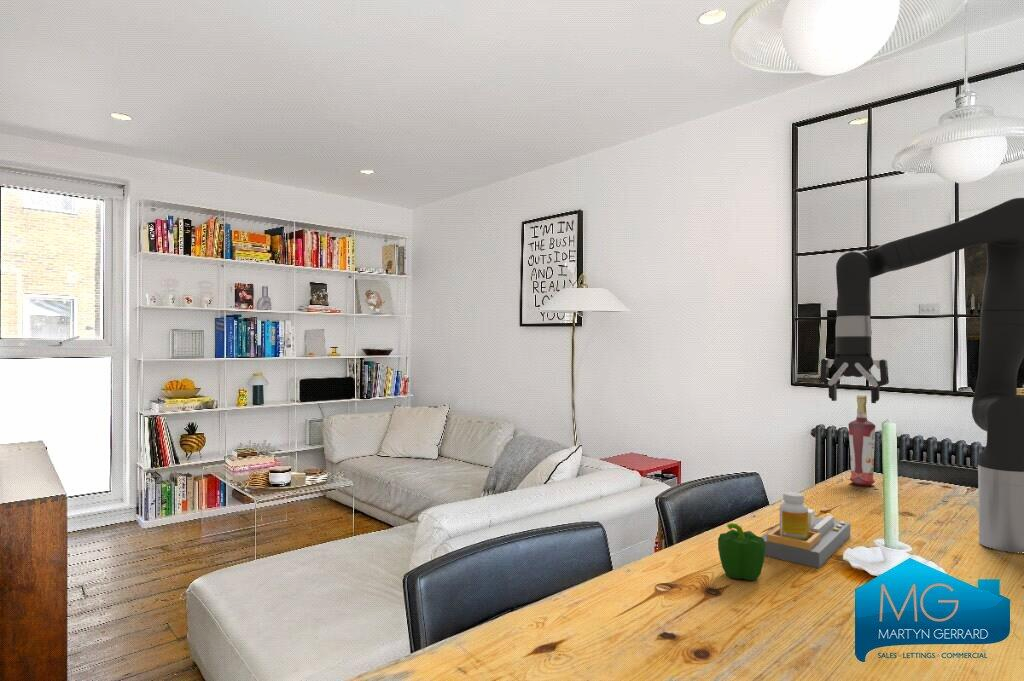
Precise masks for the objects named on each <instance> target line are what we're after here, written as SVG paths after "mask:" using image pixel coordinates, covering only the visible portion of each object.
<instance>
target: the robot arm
mask: <svg viewBox="0 0 1024 681" xmlns="http://www.w3.org/2000/svg"><path fill="white" fill-rule="evenodd" d="M982 244H986V258H987V264H986V265H987V266H986V274H985V279H984V284H983V292H982V300H981V307H980V308H981V309H980V327H979V346H978V347H979V350H978V370H977V371H978V372H977V378H976V382H975V388H974V394H973V399H972V404H971V416H972V420H973V421H974V423H975V424H976V426H977V427H979V428H980V429H981V430H982V431H984V432H986V443H985V444H986V445H985V447H984V449H983V450H981V451H979V453H978V456H977V461H978V462H977V463H978V465H977V472H978V474H977V475H978V477H977V478H978V480H977V481H978V483H977V484H978V488H977V489H978V543H979V544H980V545H981V546H984V547H986V548H988V547H989V548H988V549H991V548H993V550H995V549H997V550H996V551H999V550H1002V551H1001V552H1004V551H1008V552H1007V553H1011V552H1017V553H1016V554H1022V552H1024V396H1021V395H1018V392H1017V391H1018V389H1017V386H1018V373H1019V370H1020V366H1021V363H1022V361H1023V360H1024V197H1015V198H1014V197H1013V198H1011V199H1007V200H1004V201H1003V202H1001V203H999V204H997V205H995V206H993V207H991V208H988V209H986V210H983V211H981V212H979V213H976V214H974V215H972V216H970V217H966V218H964V219H962V220H958V221H956V222H952V223H950V224H947V225H943V226H940V227H936V228H932V229H929V230H925V231H921V232H919V233H918V232H917V233H914V234H911V235H907V236H903V237H901V238H897V239H893V240H891V241H888V242H885V243H882V244H881V245H879V246H878V247H875V248H871V249H868V250H865V251H862V252H860V251H848V252H845V253H844V254H842V255H841V256H840V257H839V258H838V260H837V262H836V265H835V266H836V267H835V274H836V276H835V277H836V290H837V298H836V320H835V321H836V322H835V358H834V359H830V358H821V360H820V361H821V362H820V375H819V381H820V383H823V384H826V385H828V399H831V402H832V401H833V402H836V401H837V399H838V395H837V394H838V393H837V392H838V391H837V386H838V385H836V384H837V383H838V382H839V381H840V379H842V378H843V377H854V378H862V377H864V378H865V379H866V381H868V382H869V384H870V385H871V388H870V395H871V396H870V397H871V398H870V402H871V404H877V402H879V401H880V388H881V387H882V386H886V385H888V384H889V383H890V380H889V368H888V360H887V359H884V358H883V359H877V360H876V359H875V360H874V359H873V357H872V334H873V331H872V321H871V302H870V295H869V291H870V290H869V289H870V288H869V287H870V279H872V278H874V277H878V276H881V275H883V274H886V273H890V272H894V271H899V270H903V269H906V268H910V267H915V266H918V265H921V264H924V263H927V262H930V261H933V260H936V259H939V258H942V257H944V256H946V255H950V254H952V253H955V252H958V251H961V250H965V249H968V248H971V247H974V246H978V245H982ZM832 365H834V366H835V367H836V368H837V371H836V372H835V373H834V374H833V375H832V377H831V378H829V368H831V367H832ZM874 365H875V367H876V369H879V374H880V380H877V378H876V377H875V376H874V374H873V373H872V372H871V371H870V370H871V368H872V367H873V366H874ZM1018 552H1019V553H1018Z"/></svg>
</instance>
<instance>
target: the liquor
mask: <svg viewBox="0 0 1024 681" xmlns="http://www.w3.org/2000/svg"><path fill="white" fill-rule="evenodd" d="M867 401H868V400H867V395H862V394H857V395H856V402H857V403H856V404H857V409H856V419H854V420H852V421H850V422H849V423H848V441H849V452H850V453H849V455H850V473H851V474H850V477H849V481H850V482H852V484H853V485H855V486H858V485H860V487H871V486H872V485H873V484H875V482H876V481H875V480H874V464H875V463H874V462H875V461H874V459H875V445H876V444H875V443H876V425H875V423H873V422H871V421H870V420H868V414H867ZM870 485H871V486H870Z"/></svg>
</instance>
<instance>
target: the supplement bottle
mask: <svg viewBox="0 0 1024 681" xmlns="http://www.w3.org/2000/svg"><path fill="white" fill-rule="evenodd" d="M782 499H783V502H781V503H780V504H779V524H780V536H783V537H788V538H793V539H798V540H803V541H807V540H808V509H809V508H808V506H807V505H806V504H805V495H804V494H803V493H801V492H797V491H785V492H783V493H782Z"/></svg>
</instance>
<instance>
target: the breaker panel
mask: <svg viewBox="0 0 1024 681" xmlns="http://www.w3.org/2000/svg"><path fill="white" fill-rule="evenodd" d="M760 537H762V538H763V539H764V542H765V544H766V548H765V557H769V558H772V559H778V560H783V561H787V562H790V563H794V564H795V563H796V564H799V565H805V566H809V567H811V568H812V567H813V568H817V569H820V568H821V567H822V566H823V565H824V564H825V563H826V562H827V561H828V560H829V559H830V558H831V557H832V556H833V555H834V554H835V553H836V552H837V551H838V550H839V549H840V548H841V547H842V545H844V543H846V541H847V540H848V539H849V538H851V522H846V521H839V520H835V515H830V514H828V515H827V516H826V517H819V516H815V526H814V527H813V528H812V532H811V531H808V540H807V541H803V540H798V539H793V538H788V537H783V536H780V523H778V524H777V525H776V526H774V527H773V528H772V529H770V530H768V531H767V532H765V533H764V534H762V535H761V536H760ZM834 552H835V553H834ZM833 553H834V554H833ZM832 554H833V555H832ZM831 555H832V556H831ZM830 556H831V557H830ZM829 557H830V558H829ZM828 558H829V559H828ZM827 559H828V560H827ZM826 560H827V561H826Z"/></svg>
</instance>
